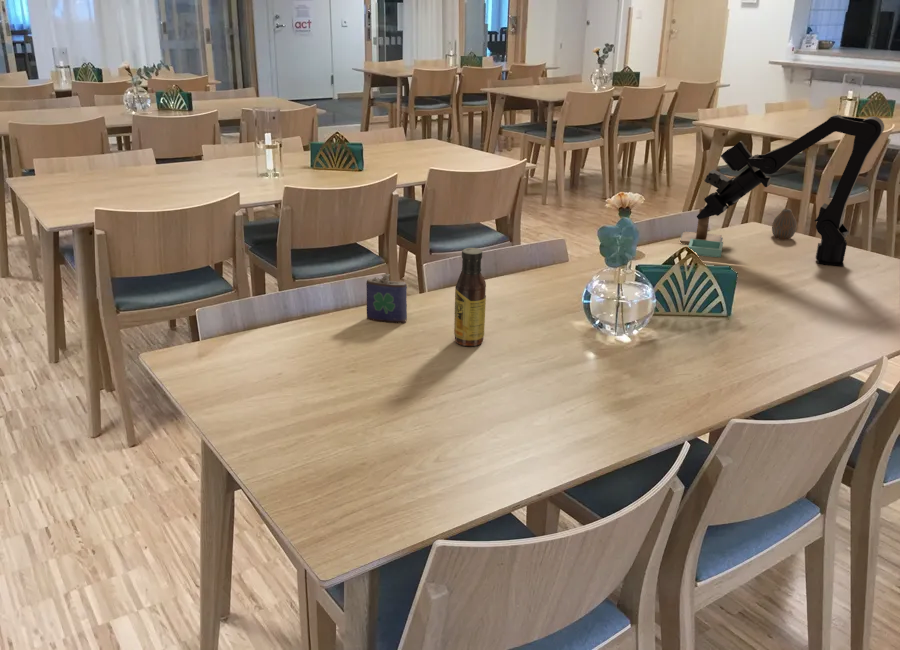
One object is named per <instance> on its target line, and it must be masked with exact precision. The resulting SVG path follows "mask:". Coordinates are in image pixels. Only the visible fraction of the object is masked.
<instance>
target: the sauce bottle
mask: <svg viewBox="0 0 900 650" xmlns="http://www.w3.org/2000/svg"><path fill="white" fill-rule="evenodd" d="M461 258H462V260H461V261H462V262H461V263H462V268H461V271H460V274H459V277H458V279H457V282H456V284H455V289H454V291H455V292H454V324H453V325H454V328H453V329H454V330H453V332H454V333H453V334H454V342H456V343H457V344H458V345H460V346H465V347H476V346H480V345H482V344H483V342H484V336H485V326H486V324H485V323H486V304H487V302H486V301H487V295H486V291H487V289H486V288H487V283H486V282H487V281H486V279H485V278H484V276H483V275H482V273H481V272H482V268H481V267H482V259H483V250H482V249H480V248H477V247H467V248H464V249H462V251H461Z"/></svg>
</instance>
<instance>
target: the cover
mask: <svg viewBox="0 0 900 650" xmlns="http://www.w3.org/2000/svg"><path fill="white" fill-rule="evenodd" d="M703 208H704V207H699V212H698V214H699V213H700V212H701V211H702V209H703ZM709 223H710V217H706V218H702V219H698V218H697V225H696V227H697V228H696V232H694V231H683V232H682V234H683V235H682V238H681V240H680V239H679V240H680V242H681V243H685V244H684V245H686V244H689V243H690V240H691V239H699V240H709V241H718V242H720V241H721V238H722V234H713V233H708V231H709V230H708V229H709Z"/></svg>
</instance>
